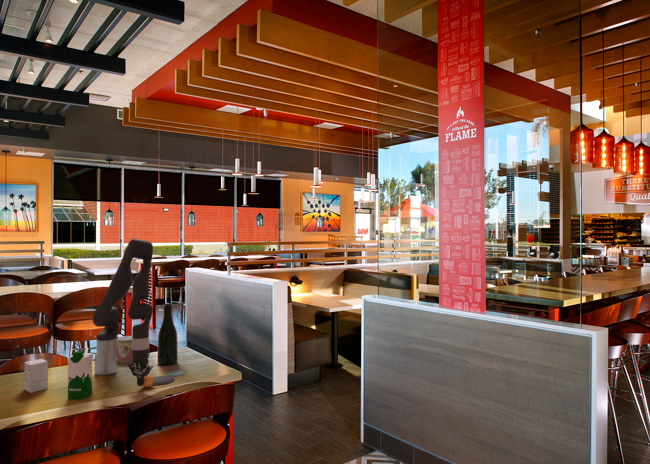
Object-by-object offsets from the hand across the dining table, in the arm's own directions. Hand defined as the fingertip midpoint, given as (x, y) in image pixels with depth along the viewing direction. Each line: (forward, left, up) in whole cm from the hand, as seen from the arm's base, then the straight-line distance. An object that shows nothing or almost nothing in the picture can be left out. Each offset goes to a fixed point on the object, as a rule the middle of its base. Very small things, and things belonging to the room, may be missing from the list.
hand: (140, 385), depth 207 cm
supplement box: (-47, -6, -2) cm, 47 cm away
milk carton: (-21, -12, -2) cm, 24 cm away
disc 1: (+3, +12, -2) cm, 13 cm away
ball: (+1, +4, +1) cm, 4 cm away
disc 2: (+6, +24, -2) cm, 25 cm away
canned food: (-33, +46, -2) cm, 57 cm away
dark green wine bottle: (-7, +41, -2) cm, 42 cm away
